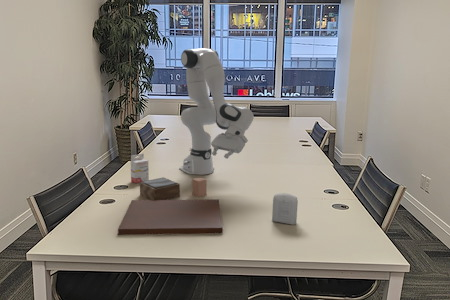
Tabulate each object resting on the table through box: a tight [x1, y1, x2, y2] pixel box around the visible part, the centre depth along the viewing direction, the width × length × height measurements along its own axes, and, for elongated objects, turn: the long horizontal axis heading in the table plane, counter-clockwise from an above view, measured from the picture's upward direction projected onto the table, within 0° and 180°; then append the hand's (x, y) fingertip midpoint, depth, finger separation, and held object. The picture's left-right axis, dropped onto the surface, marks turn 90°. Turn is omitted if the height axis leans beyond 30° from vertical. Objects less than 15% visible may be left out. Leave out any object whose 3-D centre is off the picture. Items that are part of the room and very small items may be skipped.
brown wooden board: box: [117, 198, 224, 236], centre depth 174 cm, size 40×3×33 cm
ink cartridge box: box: [130, 153, 150, 184], centre depth 224 cm, size 9×5×15 cm, turn 134°
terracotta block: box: [191, 177, 208, 198], centre depth 203 cm, size 5×5×8 cm
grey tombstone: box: [271, 192, 299, 225], centre depth 169 cm, size 10×4×12 cm, turn 69°
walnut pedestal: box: [139, 176, 181, 200], centre depth 201 cm, size 14×14×7 cm
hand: (219, 156), depth 207 cm, fingers open, 8 cm apart
